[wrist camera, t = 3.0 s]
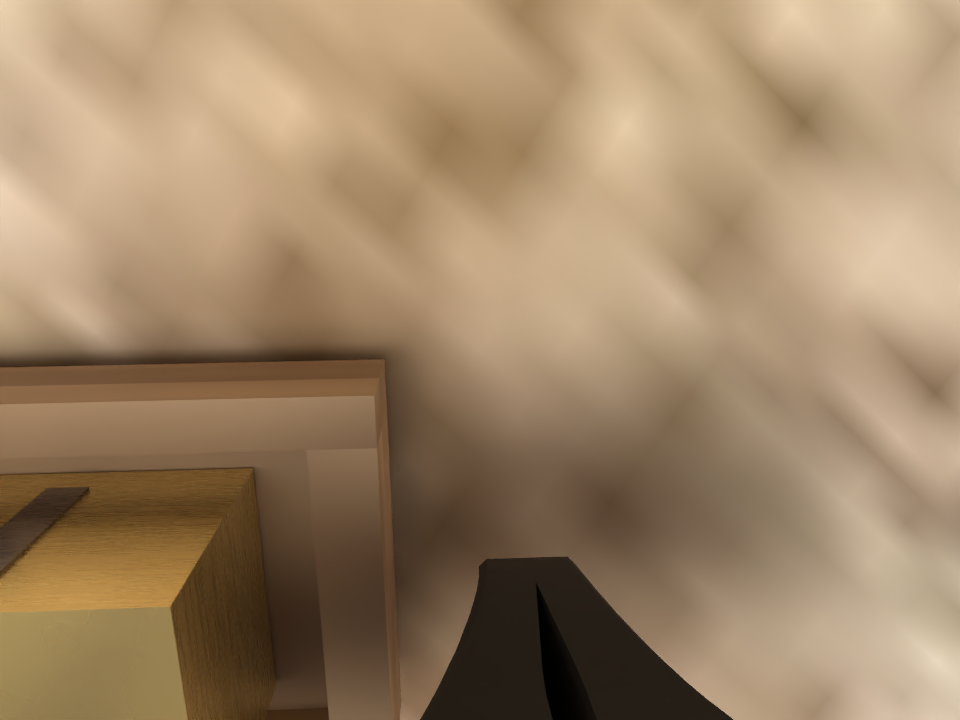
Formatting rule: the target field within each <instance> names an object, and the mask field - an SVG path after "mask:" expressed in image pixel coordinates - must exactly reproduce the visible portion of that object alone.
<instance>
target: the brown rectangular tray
mask: <svg viewBox="0 0 960 720" xmlns="http://www.w3.org/2000/svg"><path fill="white" fill-rule="evenodd" d="M240 468H253V470H254V479H255V489H256V498H257V507H258V517H259V526H260V535H261V544H262V554H263V563H264V572H265V582H266V591H267V600H268V610H269V619H270V628H271V638H272V647H273V656H274V665H275V675H276V686H275V689H274V692H273V695H272V699H271V702H270V705H269V708H268V711H267V714H266V718H265V720H400V708H401V689H400V668H399V647H398V627H397V606H396V586H395V565H394V544H393V524H392V503H391V483H390V462H389V441H388V421H387V400H386V380H385V359H376V360H329V361H283V362H236V363H189V364H143V365H96V366H49V367H3V368H0V475H22V474H58V473H94V472H131V471H167V470H203V469H240Z"/></svg>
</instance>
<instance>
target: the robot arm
mask: <svg viewBox="0 0 960 720" xmlns="http://www.w3.org/2000/svg"><path fill="white" fill-rule="evenodd" d="M420 720H733V719H732V718H731V717H729V716H728V715H727V714H725V713H724V712H723V711H722V710H720V709H719V708H718V707H716V706H715V705H714V704H713V703H711V702H710V701H709V700H707V699H706V698H705V697H704V696H702V695H701V694H700V693H699V692H698V691H696V690H695V689H694V688H693V687H692V686H690V685H689V684H688V683H687V682H686V681H685V680H684V679H682V678H681V677H680V676H679V675H678V674H677V673H676V672H675V671H674V670H673V669H672V668H671V667H669V666H668V665H667V664H666V663H665V662H664V661H663V660H662V659H661V658H660V657H659V656H658V655H657V654H656V653H655V652H654V651H653V650H652V649H651V648H650V647H649V646H648V645H647V644H646V643H645V642H644V641H643V640H642V639H641V638H640V637H639V636H638V635H637V634H636V633H635V632H634V631H633V630H632V629H631V628H630V627H629V626H628V625H627V623H626V622H625V621H624V620H623V619H622V618H621V617H620V616H619V615H618V614H617V613H616V612H615V611H614V609H613V608H612V607H611V606H610V605H609V604H608V603H607V601H606V600H605V599H604V598H603V597H602V596H601V595H600V593H599V592H598V591H597V590H596V589H595V588H594V586H593V585H592V584H591V583H590V582H589V580H588V579H587V578H586V577H585V576H584V574H583V573H582V572H581V571H580V570H579V568H578V567H577V566H576V565H575V563H574V562H572V561H571V560H570V559H569V558H568V557H541V558H510V559H486V560H485V561H484V562H483V563H482V564H481V565H480V566H479V581H478V587H477V592H476V596H475V599H474V603H473V606H472V609H471V613H470V615H469V618H468V621H467V623H466V626H465V629H464V631H463V634H462V637H461V639H460V642H459V644H458V647H457V649H456V652H455V654H454V656H453V658H452V660H451V662H450V664H449V666H448V668H447V670H446V672H445V675H444V677H443V679H442V681H441V683H440V685H439V687H438V689H437V691H436V693H435V695H434V696H433V698H432V700H431V702H430V704H429V705H428V707H427V709H426V711H425V712H424V714H423V716H422V718H421V719H420Z"/></svg>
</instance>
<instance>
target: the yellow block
mask: <svg viewBox="0 0 960 720" xmlns="http://www.w3.org/2000/svg"><path fill="white" fill-rule="evenodd" d="M275 686H276V675H275V665H274V656H273V647H272V638H271V628H270V619H269V610H268V600H267V591H266V582H265V572H264V563H263V554H262V544H261V535H260V526H259V517H258V507H257V498H256V489H255V479H254V470H253V468H240V469H203V470H167V471H131V472H94V473H58V474H22V475H0V720H265V718H266V714H267V711H268V708H269V705H270V702H271V699H272V695H273V692H274V689H275Z"/></svg>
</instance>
